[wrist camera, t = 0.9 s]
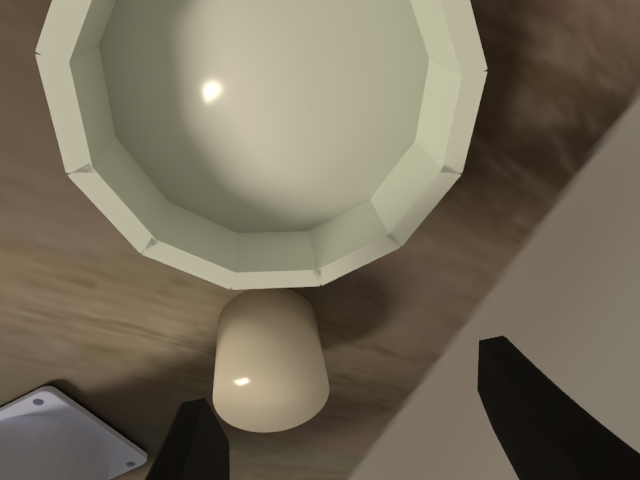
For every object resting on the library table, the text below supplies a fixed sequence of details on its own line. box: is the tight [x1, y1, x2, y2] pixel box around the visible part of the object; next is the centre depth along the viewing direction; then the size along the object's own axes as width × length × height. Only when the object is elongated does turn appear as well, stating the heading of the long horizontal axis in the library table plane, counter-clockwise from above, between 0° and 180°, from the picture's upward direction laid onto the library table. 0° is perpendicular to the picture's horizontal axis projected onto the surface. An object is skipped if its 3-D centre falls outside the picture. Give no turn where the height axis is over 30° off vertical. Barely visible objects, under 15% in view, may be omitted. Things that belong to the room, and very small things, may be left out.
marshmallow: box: [213, 288, 329, 432], centre depth 21 cm, size 5×5×4 cm
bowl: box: [35, 0, 487, 290], centre depth 15 cm, size 13×13×4 cm
